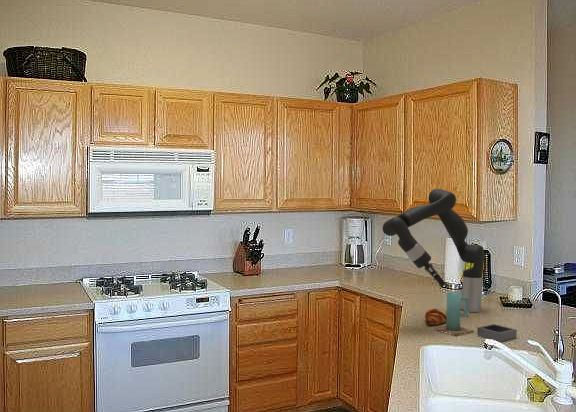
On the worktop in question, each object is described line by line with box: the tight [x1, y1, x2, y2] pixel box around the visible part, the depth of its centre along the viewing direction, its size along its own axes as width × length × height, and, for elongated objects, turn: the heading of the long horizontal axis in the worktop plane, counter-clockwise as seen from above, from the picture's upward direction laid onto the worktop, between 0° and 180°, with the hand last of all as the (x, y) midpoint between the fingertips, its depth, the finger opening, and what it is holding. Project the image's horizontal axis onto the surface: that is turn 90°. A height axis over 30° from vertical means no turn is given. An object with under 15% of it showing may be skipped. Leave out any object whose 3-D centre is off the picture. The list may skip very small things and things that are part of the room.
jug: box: [445, 291, 469, 331], centre depth 246 cm, size 9×6×16 cm, turn 82°
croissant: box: [424, 308, 446, 326], centre depth 262 cm, size 21×10×8 cm, turn 149°
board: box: [433, 325, 475, 336], centre depth 246 cm, size 12×12×1 cm
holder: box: [476, 323, 518, 343], centre depth 238 cm, size 11×11×4 cm
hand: (442, 282), depth 247 cm, fingers open, 8 cm apart
